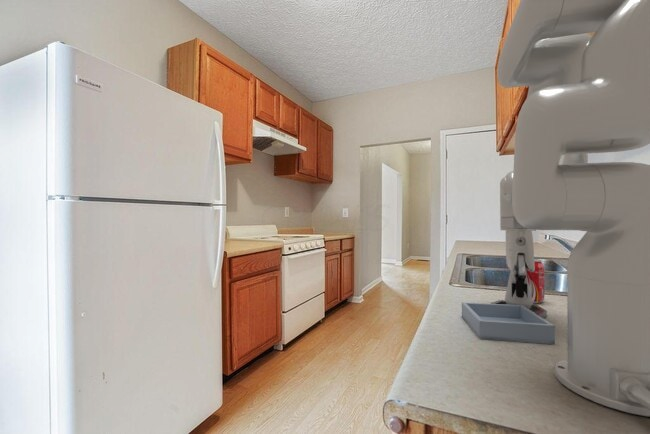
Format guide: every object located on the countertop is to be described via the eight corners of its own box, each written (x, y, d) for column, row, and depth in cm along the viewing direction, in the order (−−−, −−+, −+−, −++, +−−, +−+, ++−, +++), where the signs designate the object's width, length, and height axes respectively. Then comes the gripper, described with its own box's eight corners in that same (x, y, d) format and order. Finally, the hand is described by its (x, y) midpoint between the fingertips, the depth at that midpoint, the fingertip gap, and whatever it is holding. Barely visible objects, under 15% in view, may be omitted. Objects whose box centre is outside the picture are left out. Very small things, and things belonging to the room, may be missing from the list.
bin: (554, 344, 56) (554, 325, 56) (479, 338, 58) (479, 321, 58) (522, 320, 69) (522, 305, 69) (461, 316, 71) (461, 302, 71)
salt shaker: (529, 315, 69) (528, 260, 70) (502, 310, 74) (501, 258, 74) (535, 310, 73) (534, 258, 74) (509, 305, 78) (508, 256, 78)
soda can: (509, 297, 88) (509, 257, 88) (533, 297, 88) (533, 257, 88) (524, 304, 81) (524, 261, 81) (550, 304, 81) (550, 261, 81)
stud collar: (554, 321, 68) (554, 315, 68) (502, 318, 70) (502, 312, 70) (530, 307, 79) (530, 301, 79) (486, 305, 81) (486, 299, 81)
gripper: (543, 225, 65) (544, 308, 65) (529, 224, 80) (530, 293, 79) (503, 224, 68) (504, 304, 68) (497, 224, 83) (498, 290, 83)
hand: (518, 297), depth 74 cm, fingers closed on salt shaker, 3 cm apart
